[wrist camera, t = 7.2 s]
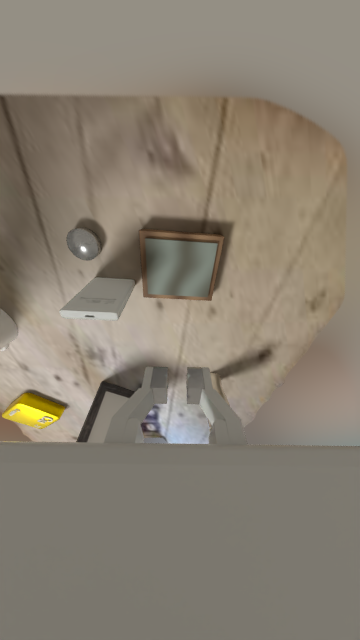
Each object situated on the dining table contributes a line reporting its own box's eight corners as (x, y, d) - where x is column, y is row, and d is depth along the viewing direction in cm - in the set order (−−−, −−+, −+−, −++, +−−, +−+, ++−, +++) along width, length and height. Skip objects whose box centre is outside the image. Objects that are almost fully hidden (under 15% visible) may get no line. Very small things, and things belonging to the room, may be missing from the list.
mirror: (145, 291, 35) (143, 298, 33) (141, 228, 28) (138, 231, 26) (209, 295, 36) (211, 301, 34) (220, 234, 29) (225, 237, 27)
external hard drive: (135, 286, 35) (118, 321, 24) (95, 284, 34) (61, 318, 24) (134, 279, 34) (116, 312, 23) (93, 276, 33) (57, 309, 23)
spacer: (77, 256, 31) (72, 259, 29) (68, 226, 28) (62, 227, 26) (104, 258, 31) (100, 261, 30) (98, 228, 28) (93, 230, 27)
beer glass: (196, 378, 54) (202, 429, 41) (213, 368, 51) (224, 420, 39) (210, 386, 57) (219, 436, 44) (226, 377, 54) (241, 428, 42)
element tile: (27, 390, 56) (16, 403, 53) (68, 406, 63) (61, 419, 60) (9, 404, 62) (-2, 418, 58) (48, 418, 69) (41, 431, 65)
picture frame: (145, 395, 59) (133, 473, 42) (143, 397, 60) (130, 475, 43) (102, 381, 54) (67, 464, 36) (100, 384, 55) (65, 466, 37)
